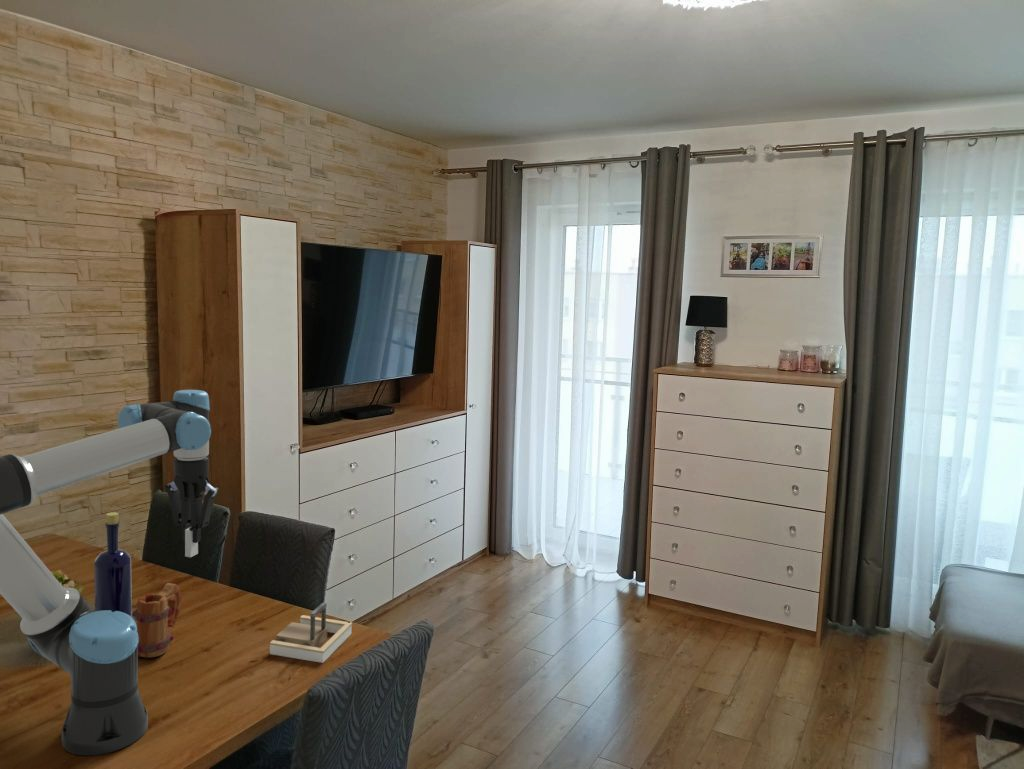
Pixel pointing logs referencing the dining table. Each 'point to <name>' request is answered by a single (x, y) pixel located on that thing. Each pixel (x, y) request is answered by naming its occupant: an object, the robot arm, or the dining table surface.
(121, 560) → the bottle
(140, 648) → the mug
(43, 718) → the dining table surface
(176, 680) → the dining table surface
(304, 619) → the bay
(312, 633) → the trolley
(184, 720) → the dining table surface
